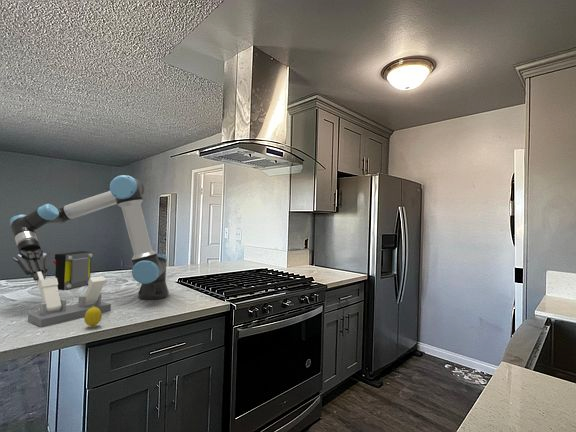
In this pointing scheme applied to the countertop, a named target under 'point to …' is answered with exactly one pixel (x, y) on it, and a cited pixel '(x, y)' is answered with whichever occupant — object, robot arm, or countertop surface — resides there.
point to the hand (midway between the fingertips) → (42, 285)
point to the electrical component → (73, 269)
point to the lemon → (93, 316)
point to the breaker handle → (94, 289)
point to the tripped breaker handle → (50, 294)
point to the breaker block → (65, 312)
